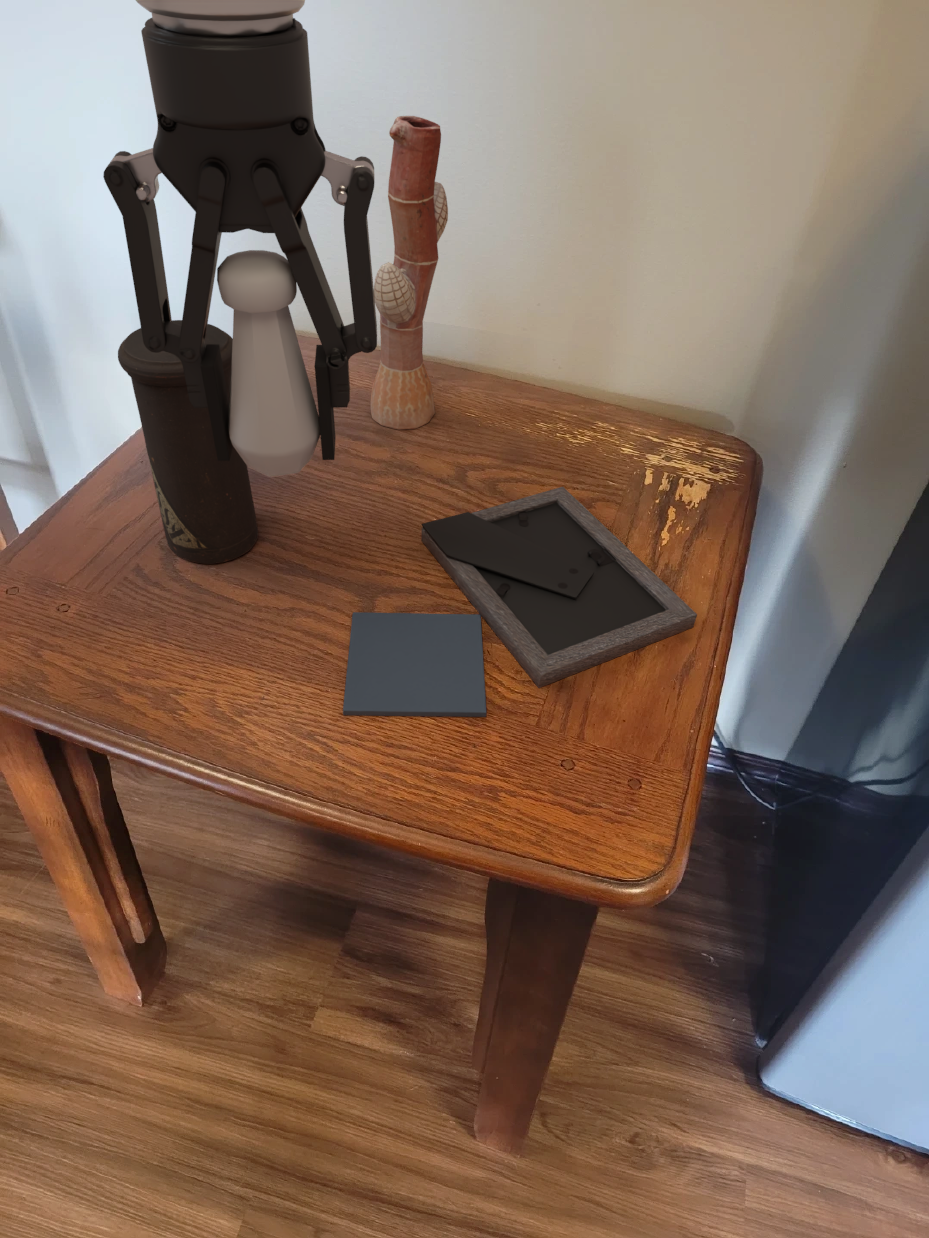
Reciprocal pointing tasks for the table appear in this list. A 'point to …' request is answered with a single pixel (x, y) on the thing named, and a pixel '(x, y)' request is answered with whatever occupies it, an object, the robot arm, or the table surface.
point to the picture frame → (555, 584)
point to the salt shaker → (267, 366)
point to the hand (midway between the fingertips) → (278, 448)
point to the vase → (408, 275)
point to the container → (190, 457)
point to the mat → (415, 665)
